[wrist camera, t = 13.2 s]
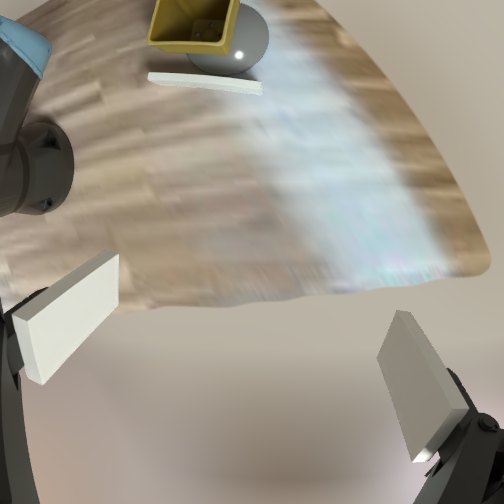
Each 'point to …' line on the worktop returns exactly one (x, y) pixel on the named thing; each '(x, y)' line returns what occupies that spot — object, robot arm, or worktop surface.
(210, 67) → the coaster
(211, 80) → the wall
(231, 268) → the worktop surface
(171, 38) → the flower pot
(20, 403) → the robot arm
